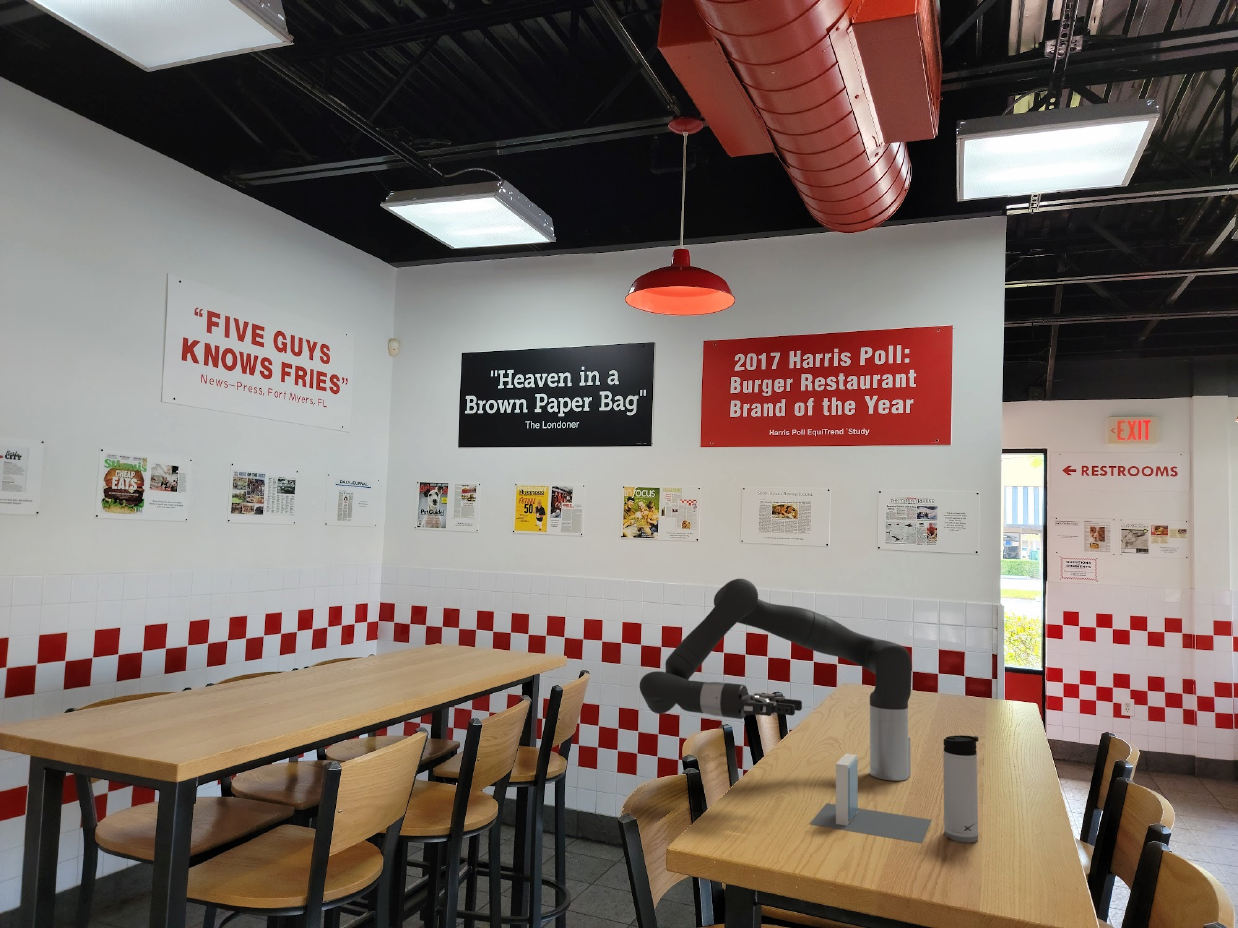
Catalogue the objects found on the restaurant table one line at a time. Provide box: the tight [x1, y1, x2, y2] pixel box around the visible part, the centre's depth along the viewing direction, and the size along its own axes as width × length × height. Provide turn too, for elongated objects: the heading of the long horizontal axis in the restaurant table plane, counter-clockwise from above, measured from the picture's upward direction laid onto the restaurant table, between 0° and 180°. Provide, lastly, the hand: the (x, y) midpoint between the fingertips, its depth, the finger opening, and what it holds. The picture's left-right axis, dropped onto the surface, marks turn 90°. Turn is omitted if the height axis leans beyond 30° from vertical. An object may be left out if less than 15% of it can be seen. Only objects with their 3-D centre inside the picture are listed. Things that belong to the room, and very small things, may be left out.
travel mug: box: [942, 734, 979, 844], centre depth 170 cm, size 6×7×20 cm
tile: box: [835, 753, 859, 826], centre depth 179 cm, size 3×10×12 cm, turn 154°
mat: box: [808, 802, 932, 844], centre depth 176 cm, size 22×16×1 cm
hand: (797, 707), depth 185 cm, fingers open, 5 cm apart
